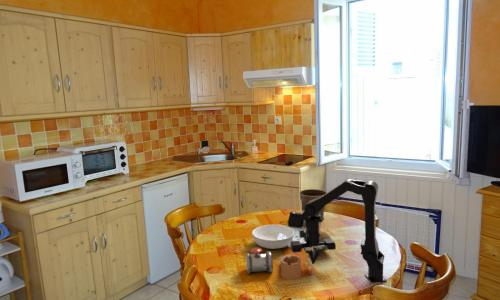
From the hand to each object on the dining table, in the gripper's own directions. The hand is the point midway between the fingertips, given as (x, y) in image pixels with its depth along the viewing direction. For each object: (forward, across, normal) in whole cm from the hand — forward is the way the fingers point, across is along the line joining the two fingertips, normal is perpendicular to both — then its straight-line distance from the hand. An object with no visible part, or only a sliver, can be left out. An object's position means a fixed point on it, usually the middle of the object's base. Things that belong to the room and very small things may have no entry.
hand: (312, 263), depth 159 cm
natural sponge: (+2, -8, -14) cm, 16 cm away
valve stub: (+2, +24, 0) cm, 24 cm away
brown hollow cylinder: (+2, +10, 0) cm, 10 cm away
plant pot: (+2, -16, -59) cm, 61 cm away
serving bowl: (+2, +14, -26) cm, 29 cm away
